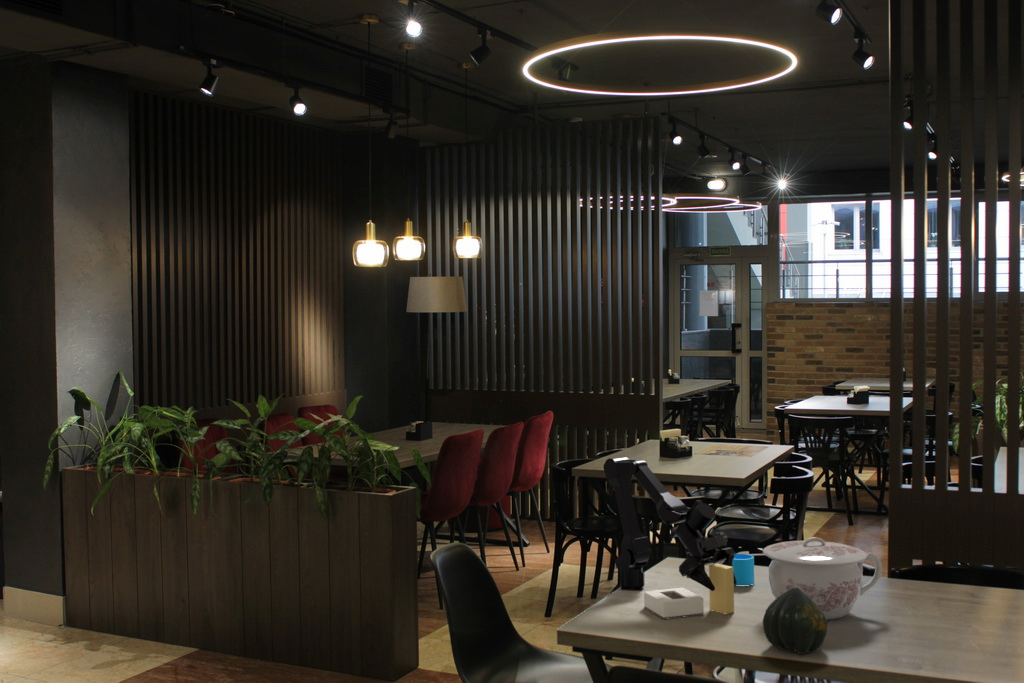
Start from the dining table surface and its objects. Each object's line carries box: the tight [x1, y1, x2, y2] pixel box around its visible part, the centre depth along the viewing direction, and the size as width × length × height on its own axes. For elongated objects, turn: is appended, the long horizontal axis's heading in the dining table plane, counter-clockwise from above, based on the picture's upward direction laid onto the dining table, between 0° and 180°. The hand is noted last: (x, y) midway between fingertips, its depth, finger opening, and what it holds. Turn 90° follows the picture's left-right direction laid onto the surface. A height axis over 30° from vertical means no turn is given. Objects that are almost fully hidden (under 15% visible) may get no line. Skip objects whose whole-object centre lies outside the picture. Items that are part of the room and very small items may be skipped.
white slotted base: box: [643, 587, 705, 620], centre depth 277 cm, size 12×12×4 cm
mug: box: [732, 553, 755, 585], centre depth 306 cm, size 12×8×8 cm
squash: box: [762, 587, 828, 655], centre depth 244 cm, size 14×15×15 cm
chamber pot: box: [762, 536, 883, 621], centre depth 272 cm, size 28×28×21 cm
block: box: [708, 563, 735, 615], centre depth 276 cm, size 6×3×12 cm, turn 39°
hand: (724, 587), depth 275 cm, fingers open, 9 cm apart
